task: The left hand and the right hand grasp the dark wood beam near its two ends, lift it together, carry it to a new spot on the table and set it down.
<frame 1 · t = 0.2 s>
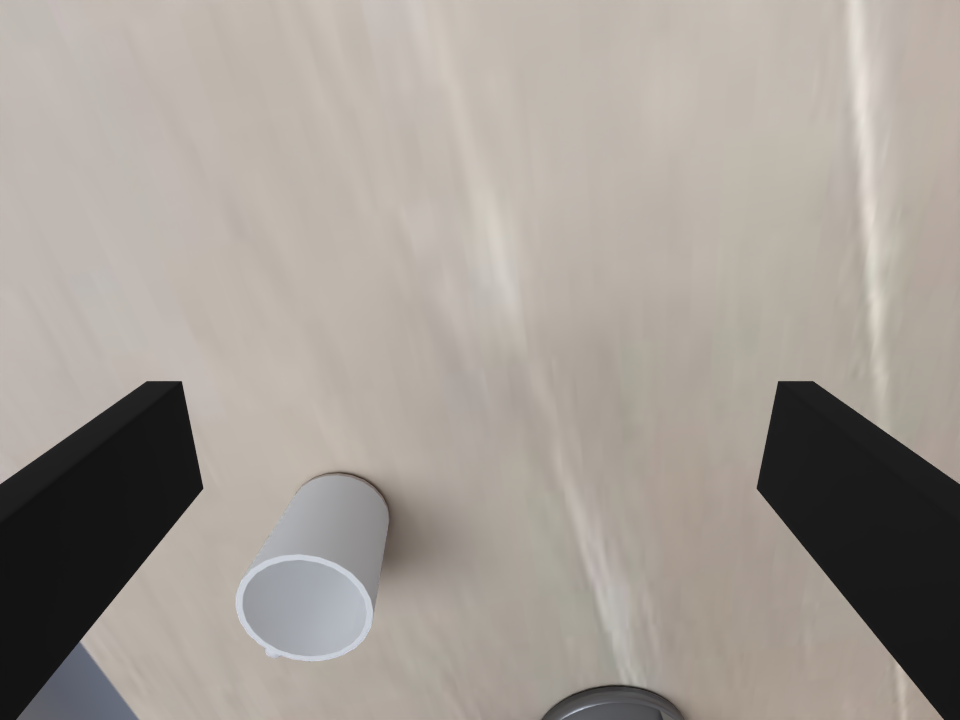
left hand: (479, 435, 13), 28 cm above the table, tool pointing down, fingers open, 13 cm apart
mug: (335, 521, 47), on the table
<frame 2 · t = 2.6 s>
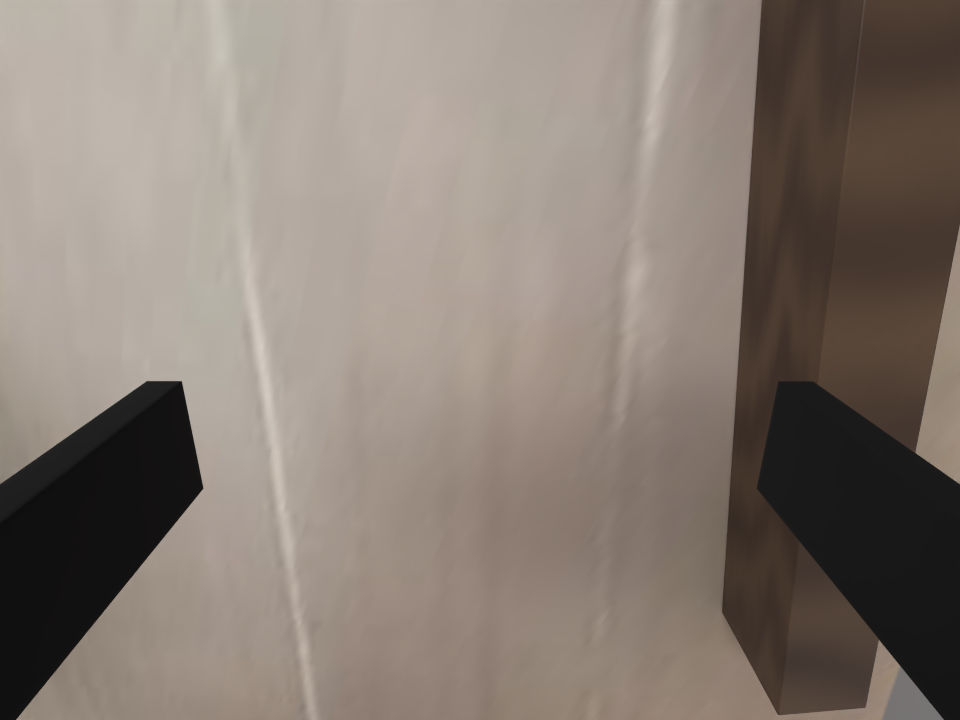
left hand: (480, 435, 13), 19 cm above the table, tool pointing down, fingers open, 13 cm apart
beam: (793, 221, 30), on the table, touching right hand
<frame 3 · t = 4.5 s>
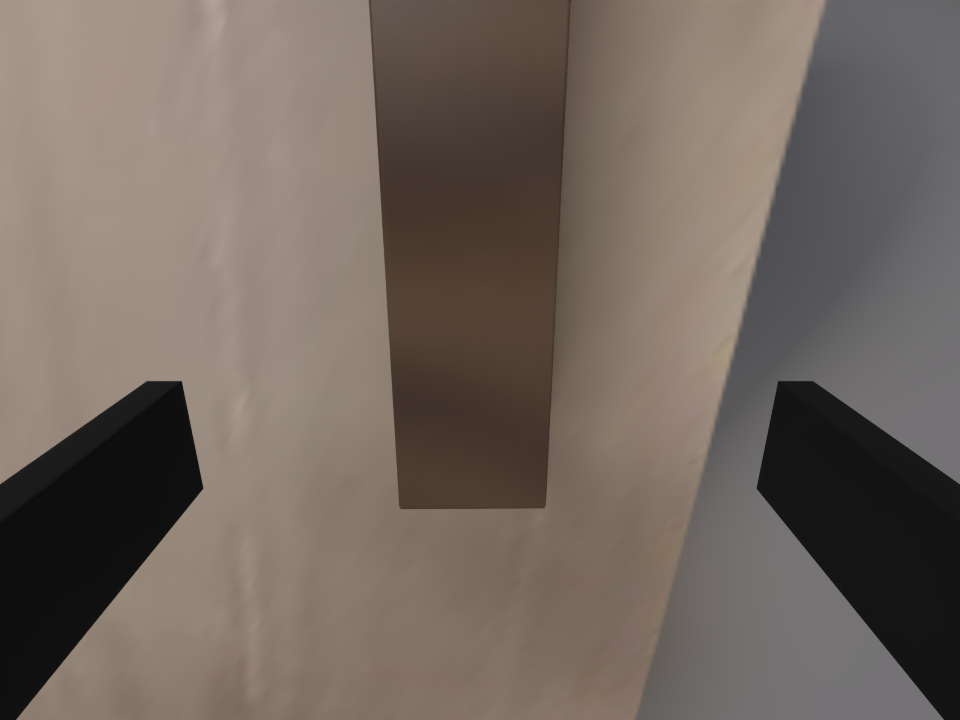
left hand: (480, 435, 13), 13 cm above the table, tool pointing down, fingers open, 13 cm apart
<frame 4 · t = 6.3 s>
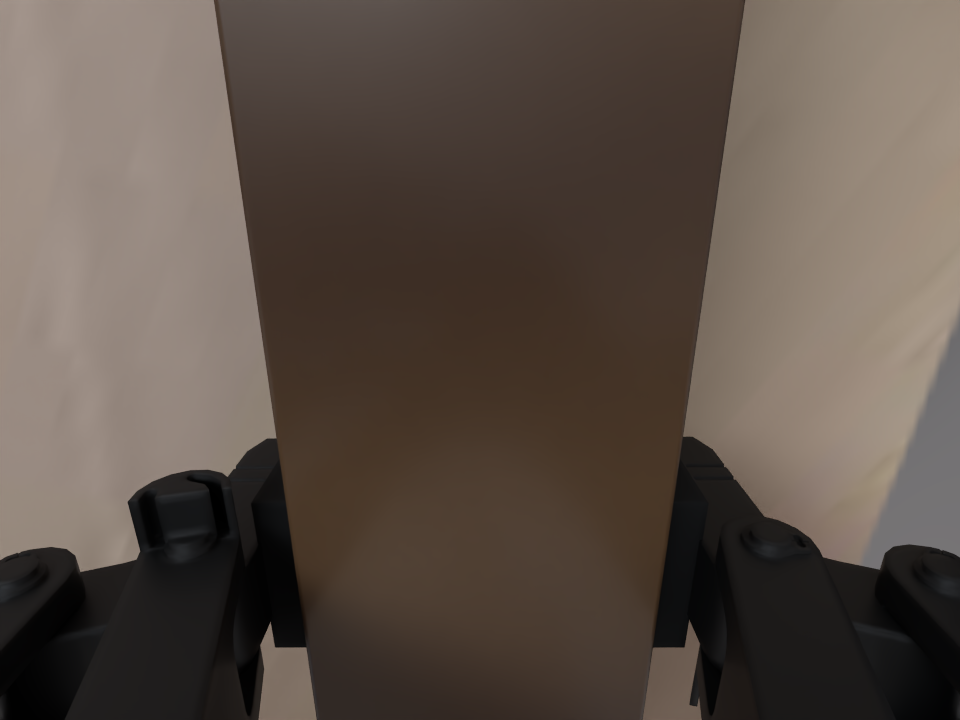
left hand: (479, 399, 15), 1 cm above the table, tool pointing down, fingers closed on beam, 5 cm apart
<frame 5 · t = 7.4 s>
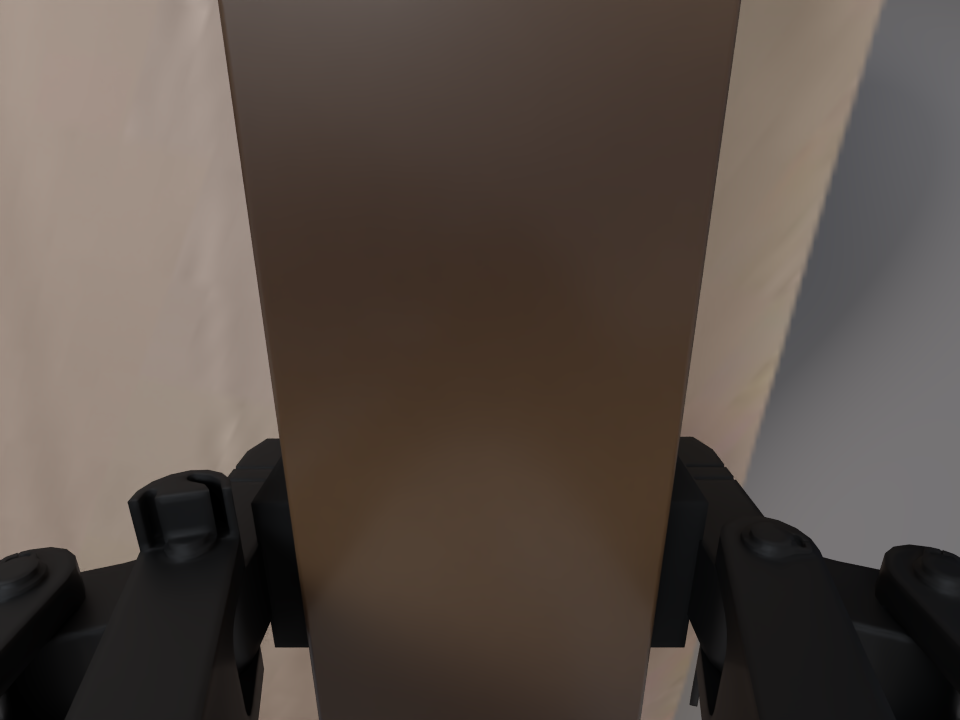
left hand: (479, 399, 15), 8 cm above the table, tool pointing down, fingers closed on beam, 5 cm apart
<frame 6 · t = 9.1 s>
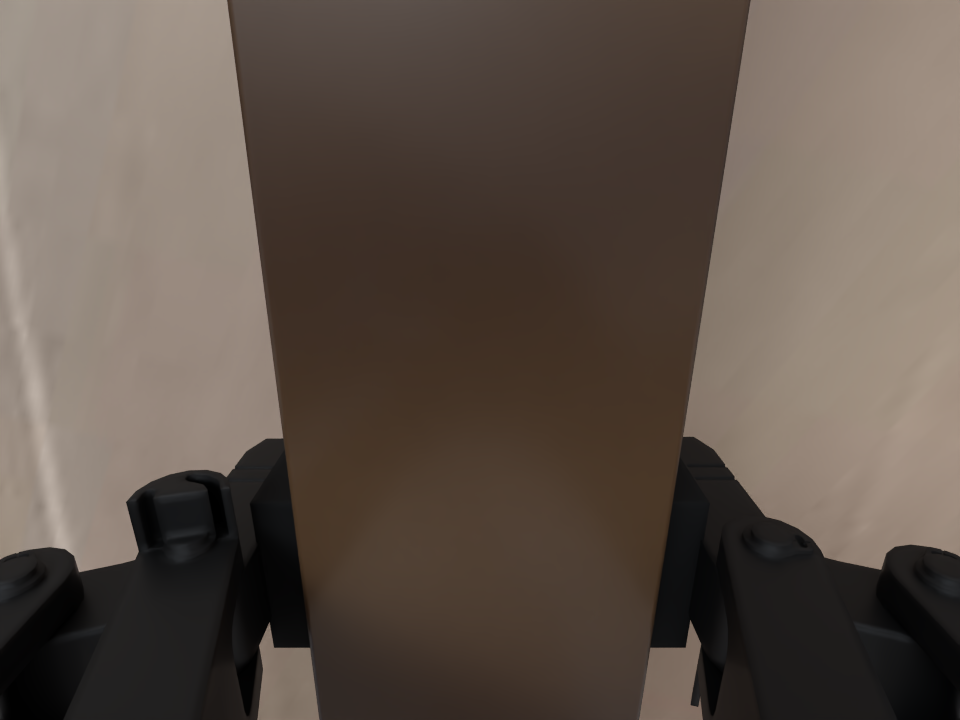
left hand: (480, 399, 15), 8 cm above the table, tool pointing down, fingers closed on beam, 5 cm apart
when the left hand's fingers open (1 cm above the table, at t = 12.1 s): beam stays where it is, on the table.
when the right hand's fingers open (4 cm above the table, at t = 12.3 s): beam stays where it is, on the table.
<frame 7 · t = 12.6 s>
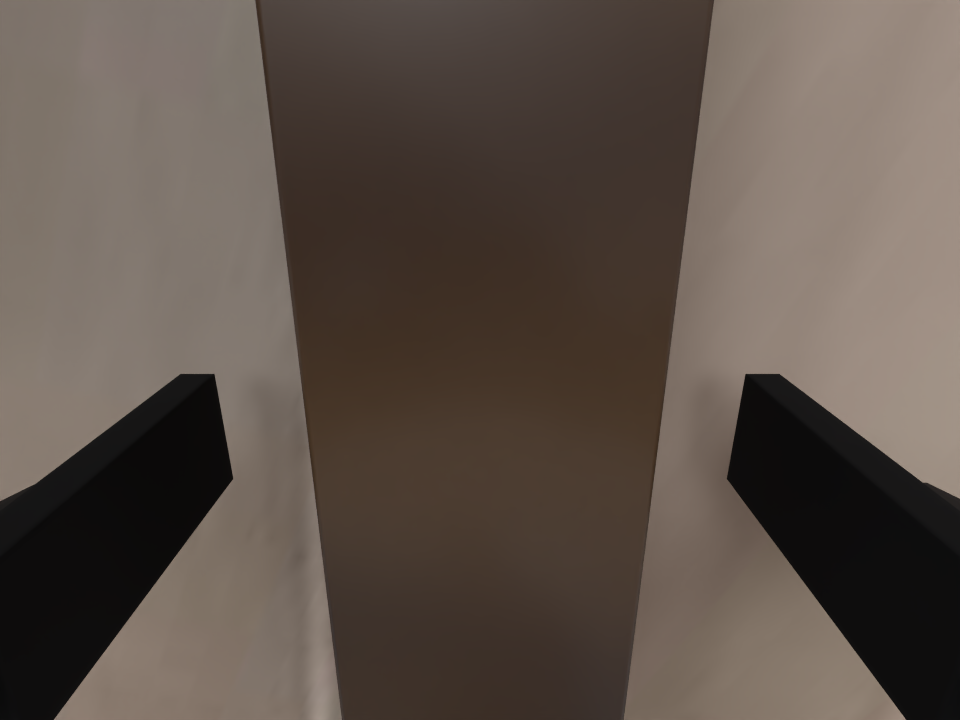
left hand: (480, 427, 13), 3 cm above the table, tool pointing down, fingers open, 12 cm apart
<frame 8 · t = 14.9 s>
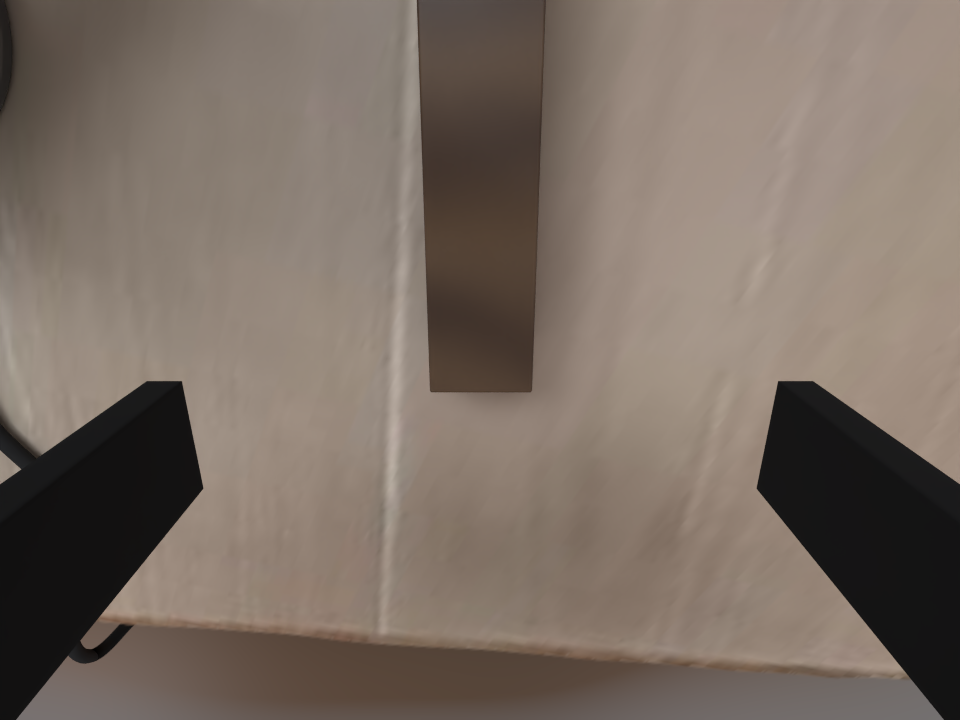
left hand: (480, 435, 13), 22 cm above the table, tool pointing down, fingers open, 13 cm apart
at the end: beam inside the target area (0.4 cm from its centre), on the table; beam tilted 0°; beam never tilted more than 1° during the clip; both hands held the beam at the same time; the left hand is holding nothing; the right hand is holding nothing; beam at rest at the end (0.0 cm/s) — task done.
